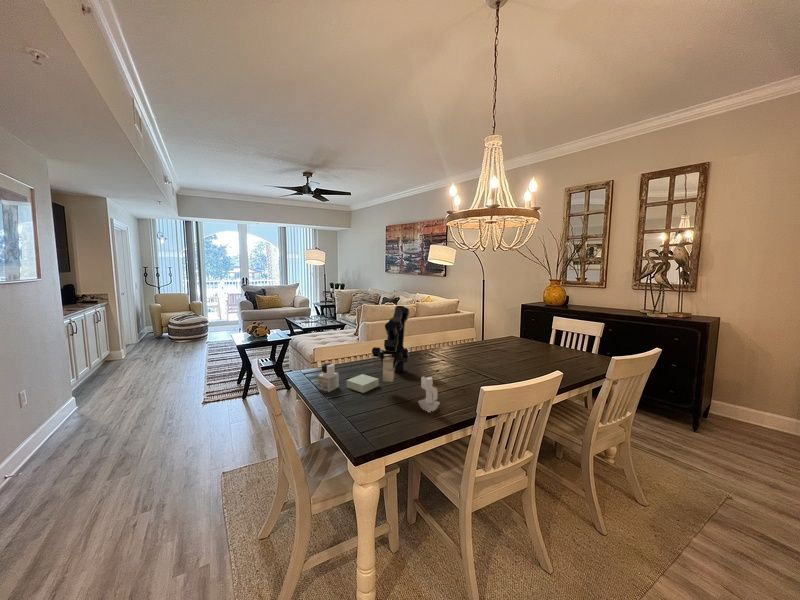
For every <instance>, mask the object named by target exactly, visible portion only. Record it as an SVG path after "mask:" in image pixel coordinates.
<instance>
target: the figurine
mask: <svg viewBox="0 0 800 600" xmlns="http://www.w3.org/2000/svg"><path fill="white" fill-rule="evenodd" d="M420 383H421V384H420V386H421V389H423V390H425V398H423V399H420V400H418V401H417V403H418V405H419V406H420V408H421V410H422V409H423V410H422V411H424V410H425V411H424V412H426V411H427V412H426V413H429V414H430V413H432V412H434V411H436V410H437V409H438V407H439V405H441V402H440V401H439V400H438V394H439V393H438V388H437V387H435V386H433V385H434V382H433V377H432V376H429V377H426V376H421V378H420ZM437 400H438V401H437ZM431 411H432V412H431Z"/></svg>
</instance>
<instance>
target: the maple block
mask: <svg viewBox="0 0 800 600" xmlns="http://www.w3.org/2000/svg"><path fill="white" fill-rule="evenodd" d="M393 363H394V357H392V356H384V359H383V367H382V381H383V382H391V383H392V382H394V379H395V372H394V370H395V367H394V368H393Z"/></svg>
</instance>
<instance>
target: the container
mask: <svg viewBox="0 0 800 600" xmlns="http://www.w3.org/2000/svg"><path fill="white" fill-rule="evenodd" d="M335 367H336V366H335V364H334V363H331V362H328V363H327V362H326V363H323V364H322V365H321V373H320V374H318V375H317V388H318V390H320V391H324V392H329V393H331V391H334V390H336V389H338V388H339V387H340V385H339V383H340V382H339V381H340V379H339V377H340V375H339V372H335V369H336V368H335Z"/></svg>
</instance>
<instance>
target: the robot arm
mask: <svg viewBox="0 0 800 600" xmlns="http://www.w3.org/2000/svg"><path fill="white" fill-rule="evenodd" d="M409 317H410V310H409V308H407V307H405V306H404V305H395V308H394V314H393V317H392V318H389V321H388V322H386V323H385V325H384V328H385V329H384V330H385V332H386V335H387V338H386V339H384V340H383V341H384V342H383V343H384V344H383V348H384V349H381V347H376V346H374V347H372V349H371V353H372V356H373V357H375V358H379V359H380V360H381V367H382V368H383V359H384V357H385V355H391V357H394V363H393V368H394V373H398V374H404V373H405V372H406V370H407V369H406V368H405V364H406V363H408V359H409V357H410V354H409V353H410V351H409V349H408V348H405V347H404V343H405V342H404V341H405V327H406V325H405V324H406V323H407V321H408V319H409Z"/></svg>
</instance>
